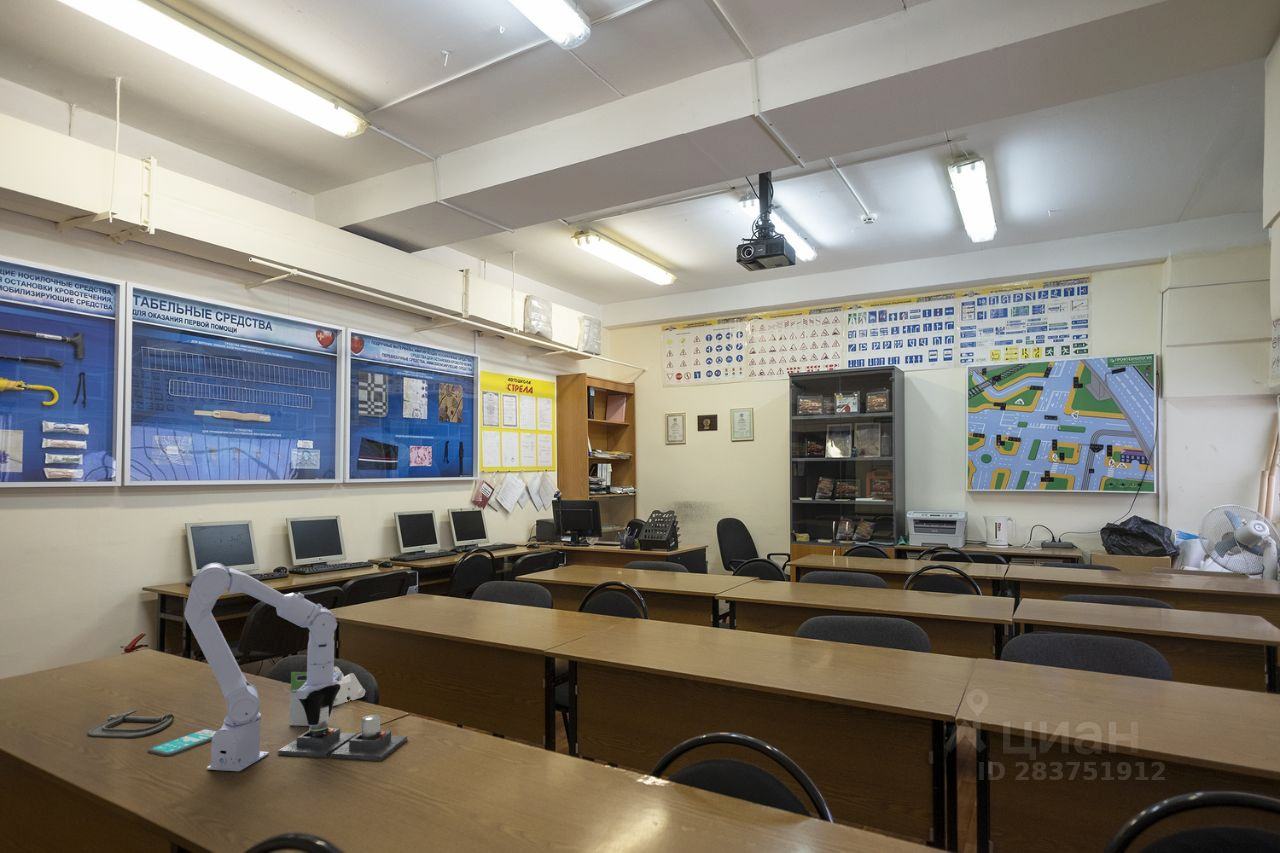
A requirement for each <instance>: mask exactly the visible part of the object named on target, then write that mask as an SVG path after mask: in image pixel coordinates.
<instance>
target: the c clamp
mask: <svg viewBox="0 0 1280 853" xmlns="http://www.w3.org/2000/svg"><path fill="white" fill-rule="evenodd" d="M136 712H137V709H134V710H131V711H128V712H125V713H119V714H117V715H115V714H111V715H109V716H108V718H107V720H106V721H105V722H103V723H100V724H99V725H96V726H95V727H93V728H91V729H89V730H88V731H87V736H88V737H90V738H108V739H109V738H112V739H113V738H115V739H116V738H117V739H135V738H137V739H138V738H143V737H147V736H151V735H153V734H156V733H157V732H160V731H162V730H164V729H165V728H167V727H168V726H169V725H170V724H171V723H172V722H174V720H175V715H174V714H172V713H167V714H164V715H163V716H146V715H145V716H144V715H141V716H139V715H132V714H134V713H136ZM125 722H127V723H128V722H129V723H130V722H132V723H134V722H135V723H154V724H153V725H151V726H147V727H142V728H114V727H115V726H116V727H117V726H119V725H121V724H122V723H125Z"/></svg>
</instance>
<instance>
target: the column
mask: <svg viewBox="0 0 1280 853" xmlns="http://www.w3.org/2000/svg"><path fill="white" fill-rule="evenodd" d="M360 729H361V730H360V731H361V732H360V733H361V740H376V739H377V738H379V734H380V730H381V715H380V714H379V715H378V714H369V715H365V716H363V717H361V728H360Z"/></svg>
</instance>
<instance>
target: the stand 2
mask: <svg viewBox="0 0 1280 853" xmlns="http://www.w3.org/2000/svg"><path fill="white" fill-rule="evenodd" d="M407 741H408V735H398V734H397V735H393V734H392V731H391V730H381V729H380V734H379V738H377V739H376V740H361V732H359V733H357V735H356V736H355V737H353V738H352V739H350V740H349V742H347V743H346V744H344V745H343V746H341V747H340V748H338V749H337V750H335V751H334V752H333V753H331V755H330V759H337V758H338V759H340V760H354V761H355V760H356V761H358V760H359V761H369V762H370V761H372V762H382V761H383V760H384V759H385V758H387V757H388V756H390V755H391V754H392V753H393V752H395V751H396V750H397V749H398V748H399V747H401V746H402V745H404V743H406V742H407ZM338 759H337V760H338Z"/></svg>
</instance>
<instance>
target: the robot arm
mask: <svg viewBox="0 0 1280 853" xmlns="http://www.w3.org/2000/svg"><path fill="white" fill-rule="evenodd" d="M227 590H228V594H239V593H243V594H245V595H247V596H250V597H253V598H254V599H257V600H259V601H261V602H263V603H266V604H268V605H270V606H272V607H274V608H276V610H275V611H276V614H277V617H280V618H282V619H284V620H287V621H288V622H290V623H292V624H295V625H296V626H299V627H300V628H307V629H308V630H309V632H308V642H307V658H306V659H307V660H306V661H307V663H306V672H307V676H306V680H307V682H306V683H305V684H304V685H303V686H302V687H301V688H300V689H298V690H297V693H296V699H299V701H300V702H301V704H302V705H303V707H304V710H305V713H306V717H307V721H308V725H317V724H318V722H319V717H320V709H321V705H322V704H327V705H329V718H330V717H331V714H332V709H333V707H334V706H333V703H334V700H335V698H336V695H337V693H338V692H339V690H340V685H339V684H337V683H338V681H341V680H342V674H343V672H342V671H341V672H335V670H334V667H335V639H334V638H335V631H336V629H337V628H338V627H337V626H338V622H337V618H336V617H335V615H334V614H333V612H332V611H330V610H329V609H328V608H327V607H325V606H324V607H323V605H322V604H321V603H317V604H316V603H314V602H313V601H310V600H309V599H307V598H305V595H304V594H303V593H301V592H298V593H296V592H295V593H294V592H291V593H287V594H283V593H281V592H280V591H278V590H276V589H274V588H272V587H270V586H269V585H267V584H266V583H264V582H263V581H262V582H261V581H260V580H258V579H256V578H254V577H252V575H250V574H247V573H245V572H243V571H241V570H239V569H238V570H237V569H235V568H232V567H227V566H226V565H224V564H222V563H219V562H211V563H208V564H206V565H204V566H203V567H201V568H200V570H199V571H198V572H197V574H196V575H195V577H194V578H193V579H192V582H191V586H190V589H189V593H188V598H187V601H186V604H185V608H184V613H183V614H184V618H185V620H186V622H187V624H188V626H189V629H191V631H192V633H193V635H194V636H193V637H194V638H195V639H196V641H197V644H198V646H199V647H200V650H201V651H202V653H203V655H204V658H205V659H206V661H207V663H208V665H209V667H210V669H211V670H212V673H213V675H214V677H215V679H216V681H217V682H218V685H219V686H220V689H221V692H222V695H223V698H224V699H225V702H226V716H225V717H224V719H223V724H222V726H221V727H220V728H219V730H218V731H217V732H216V733H215V734H214V736H213V738H212V741H210V742H211V745H210V747H211V748H210V765H208V766H206V770H212V771H213V770H214V771H228V772H230V771H231V772H241V771H243V770H245V769H246V768H248V767H250V766H251V765H253V764H254V763H257V762H258V761H259V760H261V759H263V758H265V757H266V756H268V755H269V754H270V752H269V751H263V750H262V751H261V731H262V730H261V728H262V726H261V724H262V713H261V712H260V709H261V701H260V700H259V699H260V698H259V690H258V688H256V686H255V685H253V684H252V683H250V682H249V681H248V680H247V678H246V676H245V674H244V673H243V672H242V670H241V668H240V666H239V663H238V662H237V660H236V658H235V656H234V654H233V652H232V650H231V648H230V646H229V645H228V642H227V641H226V638H225V637H224V634H223V632H222V630H221V628H220V627H219V624H218V622H217V620H216V619H215V617H214V615H213V613H212V610H213V609H214V606H215V605H216V603H217V600H218V599H219V598H220V597H221V596H222V595H223V594H224V593H225V592H226V591H227Z"/></svg>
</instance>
